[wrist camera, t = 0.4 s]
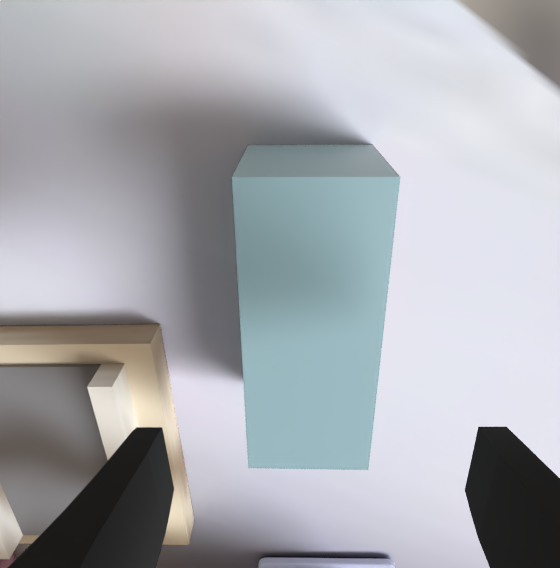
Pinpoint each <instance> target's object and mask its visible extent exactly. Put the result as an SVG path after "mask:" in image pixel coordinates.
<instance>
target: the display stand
mask: <svg viewBox="0 0 560 568" xmlns="http://www.w3.org/2000/svg"><path fill="white" fill-rule="evenodd" d="M136 427H162V429H163V434H164V439H165V444H166V449H167V454H168V460H169V465H170V470H171V475H172V480H173V485H174V493H173V498H172V504H171V509H170V514H169V519H168V524H167V529H166V534H165V537H164V541H163V544H162V545H189V542H190V537H191V532H192V528H193V523H194V515H193V510H192V504H191V498H190V493H189V487H188V481H187V475H186V470H185V464H184V458H183V453H182V447H181V441H180V436H179V430H178V424H177V419H176V413H175V407H174V401H173V396H172V390H171V384H170V379H169V373H168V367H167V362H166V356H165V350H164V345H163V339H162V333H161V327H160V324H146V325H59V326H0V559H10V557H11V556H12V554H13V552H14V550H15V549H16V547H17V545H18V544H32V543H33V542H34V541H35V540H36V539H37V538H38V537H39V536H40V535H41V534H42V533H43V532H44V531H45V530H46V528H47V527H48V526H49V525H50V524H51V523H52V522H53V521H54V520H55V519H56V518H57V517H58V516H59V515H60V514H61V513H62V512H63V511H64V510H65V509H66V508H67V506H68V505H69V504H70V503H71V502H72V501H73V500H74V499H75V497H76V496H77V495H78V494H79V493H80V492H81V491H82V490H83V489H84V487H85V486H86V485H87V484H88V483H89V482H90V481H91V480H92V478H93V477H94V476H95V475H96V474H97V473H98V471H99V470H100V469H101V468H102V467H103V466H104V464H105V463H106V462H107V461H108V460H109V458H110V457H111V456H112V455H113V454H114V453H115V451H116V450H117V449H118V448H119V447H120V445H121V444H122V443H123V442H124V441H125V439H126V438H127V437H128V436H129V435H130V433H131V432H132V431H133V430H134V429H135V428H136Z"/></svg>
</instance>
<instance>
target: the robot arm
mask: <svg viewBox="0 0 560 568" xmlns="http://www.w3.org/2000/svg"><path fill="white" fill-rule="evenodd" d="M465 492H466V496H467V500H468V503H469V507H470V511H471V515H472V518H473V522H474V525H475V528H476V532H477V535H478V538H479V541H480V543H481V546H482V549H483V551H484V554H485V556H486V559H487V561H488V564H489V566H490V568H560V478H559V477H558V476H557V475H556V474H554V473H553V472H552V471H551V470H550V469H549V468H548V467H547V466H546V465H545V464H544V463H543V462H542V461H541V460H540V459H539V458H538V457H537V456H536V455H535V454H534V453H533V452H532V451H531V450H530V449H529V448H528V447H527V446H526V445H525V444H524V443H523V442H522V441H521V440H520V439H518V438H517V437H516V436H515V435H514V434H513V433H512V432H511V431H510V430H509V429H508V428H507V427H478V432H477V437H476V441H475V446H474V451H473V455H472V460H471V465H470V469H469V474H468V478H467V483H466V488H465ZM173 493H174V485H173V480H172V475H171V470H170V465H169V460H168V454H167V449H166V444H165V439H164V434H163V429H162V427H136V428H135V429H134V430H133V431H132V432H131V433H130V435H129V436H128V437H127V438H126V439H125V441H124V442H123V443H122V444H121V445H120V447H119V448H118V449H117V450H116V451H115V453H114V454H113V455H112V456H111V457H110V458H109V460H108V461H107V462H106V463H105V464H104V466H103V467H102V468H101V469H100V470H99V471H98V473H97V474H96V475H95V476H94V477H93V478H92V480H91V481H90V482H89V483H88V484H87V485H86V486H85V487H84V489H83V490H82V491H81V492H80V493H79V494H78V495H77V496H76V497H75V499H74V500H73V501H72V502H71V503H70V504H69V505H68V506H67V508H66V509H65V510H64V511H63V512H62V513H61V514H60V515H59V516H58V517H57V518H56V519H55V520H54V521H53V522H52V523H51V524H50V525H49V526H48V527H47V528H46V530H45V531H44V532H43V533H42V534H41V535H40V536H39V537H38V538H37V539H36V540H35V541H34V542H33V543H32V544H31V545H30V546H29V547H28V548H27V549H26V550H25V551H24V552H23V553H22V554H21V555H20V556H19V557H18V558H17V559H16V560H15V561H14V562H13V563H12V564H11V565H10V566H9V567H7V568H155V567H156V564H157V561H158V557H159V554H160V551H161V548H162V544H163V541H164V537H165V534H166V529H167V524H168V519H169V514H170V509H171V504H172V498H173ZM258 568H395V564H394V562H393V561H392V560H390V559H373V558H273V557H266V558H262V559H261V560H260V561H259V565H258Z"/></svg>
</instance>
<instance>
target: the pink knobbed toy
mask: <svg viewBox="0 0 560 568" xmlns="http://www.w3.org/2000/svg"><path fill="white" fill-rule="evenodd" d="M14 560H15V557H14V554H12V556H11V557H10V559H0V568H7V567H9V566H10V565H11V564H12V563H13V562H14Z"/></svg>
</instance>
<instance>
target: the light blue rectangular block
mask: <svg viewBox="0 0 560 568" xmlns="http://www.w3.org/2000/svg"><path fill="white" fill-rule="evenodd" d="M399 183H400V176H399V175H398V174H397V173H396V171H395V170H394V169H393V168H392V167H391V166H390V164H389V163H388V162H387V161H386V160H385V158H384V157H383V156H382V155H381V154H380V153H379V151H378V150H377V149H376V148H375V147H374V146H373V145H248V146H247V148H246V150H245V152H244V154H243V156H242V158H241V160H240V162H239V164H238V166H237V168H236V170H235V172H234V174H233V176H232V190H233V207H234V225H235V242H236V260H237V277H238V295H239V312H240V330H241V347H242V365H243V382H244V400H245V417H246V435H247V452H248V468H280V469H342V470H368V468H369V458H370V449H371V440H372V431H373V422H374V412H375V403H376V394H377V385H378V376H379V366H380V357H381V348H382V339H383V330H384V320H385V311H386V302H387V293H388V284H389V275H390V265H391V256H392V247H393V238H394V229H395V219H396V210H397V201H398V192H399Z"/></svg>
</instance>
